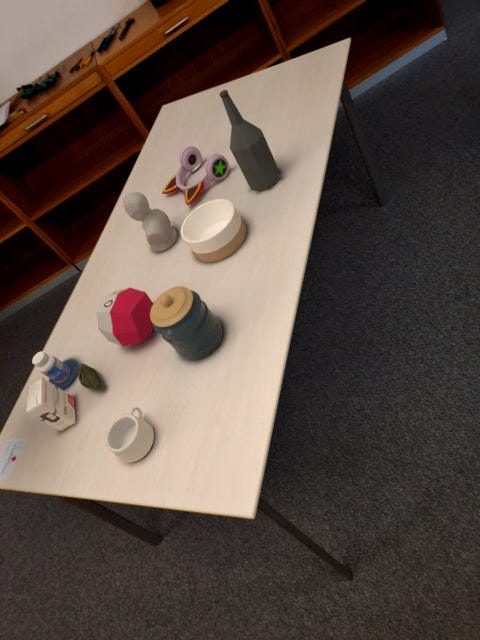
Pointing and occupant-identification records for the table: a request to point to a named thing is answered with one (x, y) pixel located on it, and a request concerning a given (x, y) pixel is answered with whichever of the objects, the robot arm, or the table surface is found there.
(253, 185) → the bottle
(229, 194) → the table surface
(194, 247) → the bowl
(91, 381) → the decorative stone
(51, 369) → the pill bottle
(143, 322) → the decorative object
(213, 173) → the headphones
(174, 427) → the table surface
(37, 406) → the ink box
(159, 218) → the figurine
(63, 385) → the coaster
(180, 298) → the canister
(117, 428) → the mug
